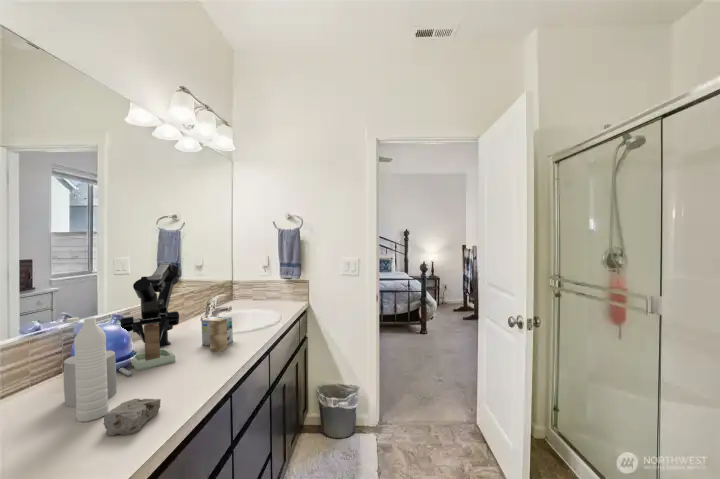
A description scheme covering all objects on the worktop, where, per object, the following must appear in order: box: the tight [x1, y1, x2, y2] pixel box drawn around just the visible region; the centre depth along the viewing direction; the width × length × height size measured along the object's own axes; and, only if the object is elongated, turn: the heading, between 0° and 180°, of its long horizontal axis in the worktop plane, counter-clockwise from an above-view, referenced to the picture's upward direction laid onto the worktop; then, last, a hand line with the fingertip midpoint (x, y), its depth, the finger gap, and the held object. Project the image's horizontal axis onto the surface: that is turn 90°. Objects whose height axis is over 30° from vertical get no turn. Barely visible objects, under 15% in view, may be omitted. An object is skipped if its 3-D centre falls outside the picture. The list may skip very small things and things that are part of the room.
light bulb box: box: [201, 316, 234, 346], centre depth 153 cm, size 11×7×11 cm, turn 84°
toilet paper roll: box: [63, 349, 118, 408], centre depth 103 cm, size 12×12×12 cm
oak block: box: [209, 318, 228, 352], centre depth 144 cm, size 4×4×12 cm
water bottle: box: [66, 316, 109, 423], centre depth 92 cm, size 9×6×25 cm
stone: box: [103, 398, 161, 437], centre depth 88 cm, size 13×6×10 cm
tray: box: [130, 347, 176, 372], centre depth 131 cm, size 12×12×2 cm
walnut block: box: [143, 323, 161, 361], centre depth 131 cm, size 4×4×12 cm
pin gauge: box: [118, 367, 133, 377], centre depth 120 cm, size 8×1×1 cm, turn 53°
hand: (152, 341), depth 130 cm, fingers closed on walnut block, 4 cm apart
